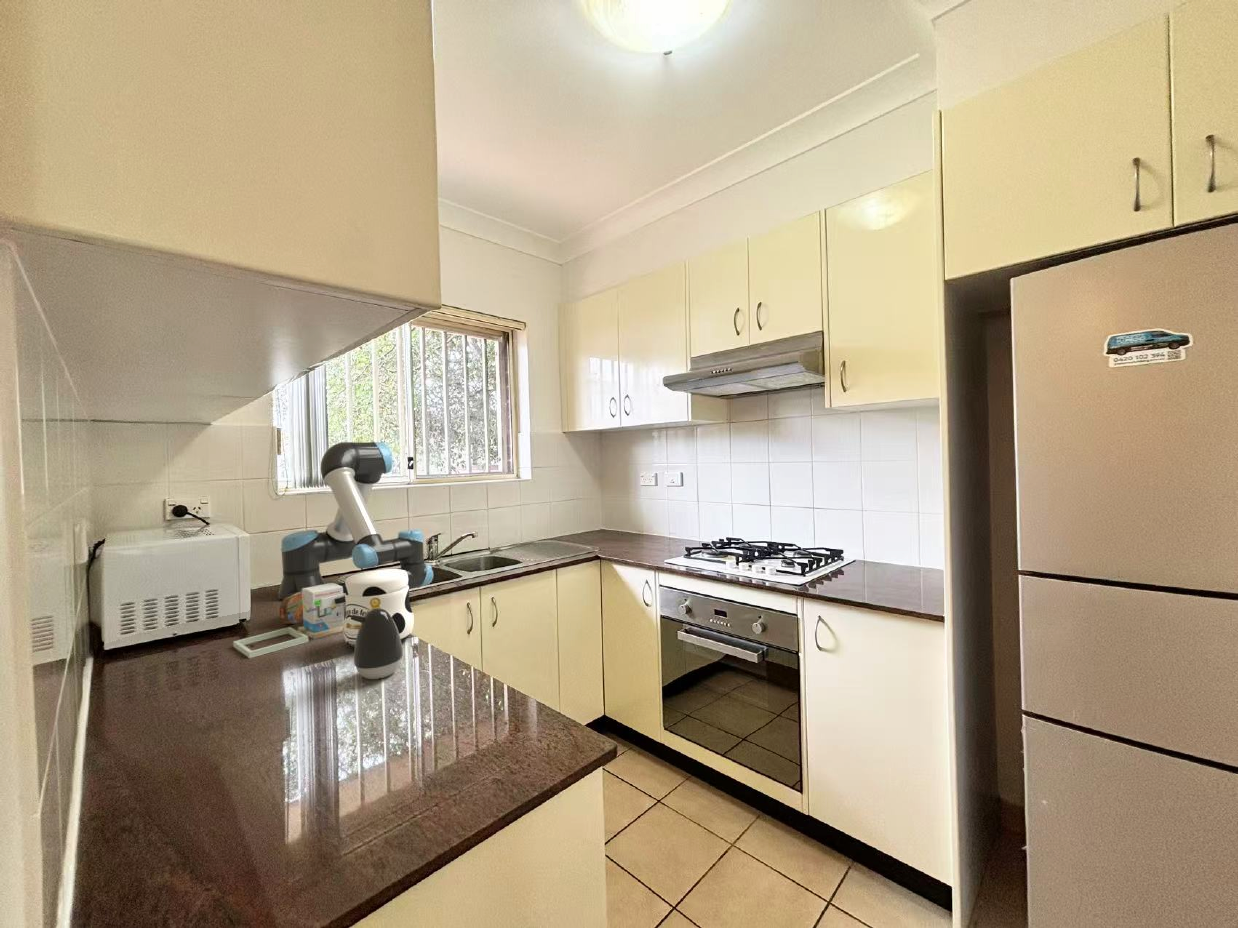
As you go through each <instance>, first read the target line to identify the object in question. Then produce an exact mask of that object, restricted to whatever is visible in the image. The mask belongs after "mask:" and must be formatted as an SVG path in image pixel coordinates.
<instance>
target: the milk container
mask: <svg viewBox="0 0 1238 928" xmlns="http://www.w3.org/2000/svg"><path fill="white" fill-rule="evenodd" d="M344 583H345V592H346V594H345V601H346V603H345V607H346V608H345V615H344V625H343V631H342V632H343V638H344V641H345V643H346V644H347V645H348V646H350V647H352V648H354V649H355V643H356V638H357V634H358V631H359V628H360V626H361V623H360V622H357V621H354V620H351V616H352V615H357V616H363V617H365V616H366V614H367V613H368V612H369V611H371V610H373V609H376V608H381V609H384V610H386V611H387V612H388V613H389V614H390V615H391V617H392V619H393V620H394V622H395V624H396V627H397V629H398V632H399V635H400V638H401V642H402V641H404V640H405V639H406V638H408V637H409V636H411V634H412V632H413V630H414V626H415V625H414V624H415V622H414V621H415V619H414V618H415V616H414V612H413V609H412V607H411V603H410V589H409V586H408V583H409V582H408V575H407V572H406V571H405V570H399V568H394V569H393V568H391V569H390V568H389V569H379V570H378V569H377V570H370V571H365V572H364V571H363V572H361V573H355V574H353V575H350V576H349V577H348V576H347V578H345V582H344Z"/></svg>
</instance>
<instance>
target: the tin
mask: <svg viewBox="0 0 1238 928" xmlns="http://www.w3.org/2000/svg"><path fill="white" fill-rule="evenodd" d="M279 617H280V620H281V622H282V623H283V624H286V625H291V624H293V625H295V624H298V623H300V622H302V621H303V602H302V591H300V592H298V593H296V594H294V595H291V596H289V597H287V598H285V599H284V600H281V603H280V606H279Z"/></svg>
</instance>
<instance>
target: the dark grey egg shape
mask: <svg viewBox="0 0 1238 928" xmlns="http://www.w3.org/2000/svg"><path fill="white" fill-rule="evenodd" d="M351 620H354V621H357V622H360V623H361V626H360V628H359V631H358V634H357V638H356V643H355V648H354V649H353V650H354V651H353V665H354V666H355V667H356V668H355V669H356V671H357V672H358V674H359V675H360V676H361V677H363V678H364V679H367V680H379V678H381V679H383V678H387V677H389V676H391V675H392V674H393V673H394V672H396V671H397V670H398V668H399V666H400V664H401V661H402V658H403V656H404V651H403V650H404V649H403V644H402V641H401V638H400V635H399V632H398V629H397V627H396V624H395V622H394V620H393V619H392V617H391V615H390V614H389V613H388V612H387V611H386V610H384V609H381V608H376V609H373V610H371V611H369V612H368V613H367V614H366V616H365V617H363V616H357V615H352V616H351Z"/></svg>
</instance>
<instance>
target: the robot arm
mask: <svg viewBox="0 0 1238 928" xmlns="http://www.w3.org/2000/svg"><path fill="white" fill-rule="evenodd" d="M393 463H394V461H393V456H392V452H391V449H390V447H388V445H387V444H386V443H384V442H380V441H379V442H377V441H371V442H367V441H366V442H365V441H364V442H363V441H362V442H358V441H356V442H353V441H352V442H351V441H350V442H349V441H344V442H339V443H335V444H334V445H332V446H330V447H329V448H328V449H327V450H326V451H325V453H324V454H323V456H322V458H321V461H320V474H321V478H322V480H323V483H324V484H325V485H326V486H329V487H330V490H331V492H332V494H333V496H334V499H335V501H336V503H337V505H338V507H337V511H336V514H335V516H334V518H333V519H334V520H333V521H331V522H330V523H328V525H327V527H326V529H325V531H322V532H319V531H318V530H317V529H308V530H301V531H297V532H294V533H293V532H292V533H290V534H287V535H285V536H284V537H282V540H281V549H280V551H281V561H282V563H281V564H282V580H281V582H280V586H279V589H278V592H277V593H278V594H277V596H278V599H279V598H280V599H282V600H281V601H283V600H284V599H285V598H287V597H289V596H291V595H294V594H296V593H298V592H300V591H302V589H303V588H308V587H313V586H318V585H323V584H326V583H325V581H324V578H323V577H322V574H321V569H320V564H323V563H328V562H329V563H330V562H334V561H341V560H342V561H343V560H347V559H350V558H352V563H353V565H354V566H355V567H356V568H358V569H370V568H375V567H379V566H382V565H388V564H392V563H398V562H399V565H400V568H398V569H399V570H405V571H406V572H407V575H408V582H409V583H408V586H409V590H412V589H413V590H414V589H420V588H422V587H424V586H427V585H430V583H432V581H433V579H434V571H433V568H432V565H431V564H430V563H428V562H425V559H424V557H425V555H424V554H425V553H424V538H423V537H424V536H423V532H422V530H419V529H407V530H402V531H399V532H398V534H397V538H391V539H386V540H383V538H382V535H381V534H380V532H379V529H378V527H377V525H376V523H375V521H374V518H373V517H372V514H371V512H370V510H369V508H368V506H367V503H368V500H369V497H370V495H371V492H372V489H373V486H374V485H376V484H377V483H379V482H380V481H381V477H382V475H383V474H384V475H387V474H388V473H390V472H391V471H392V469H393ZM336 584H337V585H340V586H342V587H343V594H340V595H335V596H331V597H327V598H322V599H321V609H324V608H328V607H332V606H336V605H340V604H346V601H345V594H346V592H345V582H340V583H336ZM280 599H279V600H280Z"/></svg>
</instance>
